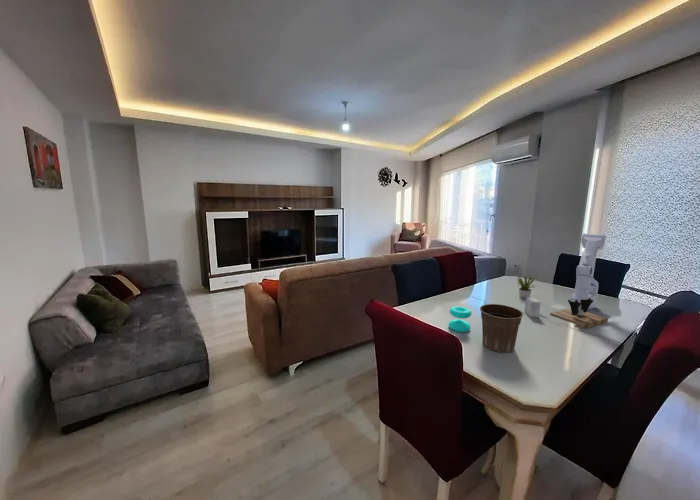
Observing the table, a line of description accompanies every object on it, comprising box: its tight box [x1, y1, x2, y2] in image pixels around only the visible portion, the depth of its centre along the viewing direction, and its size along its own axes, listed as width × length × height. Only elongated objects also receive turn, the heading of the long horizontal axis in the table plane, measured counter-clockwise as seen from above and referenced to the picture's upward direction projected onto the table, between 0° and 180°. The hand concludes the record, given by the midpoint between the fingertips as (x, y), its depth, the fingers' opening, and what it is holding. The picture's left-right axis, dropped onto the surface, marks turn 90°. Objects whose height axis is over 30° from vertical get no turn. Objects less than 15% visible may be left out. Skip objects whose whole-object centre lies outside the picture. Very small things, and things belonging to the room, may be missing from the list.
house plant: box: [516, 274, 541, 299], centre depth 183 cm, size 14×14×16 cm
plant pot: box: [479, 303, 524, 354], centre depth 122 cm, size 16×16×16 cm
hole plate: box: [549, 308, 609, 330], centre depth 151 cm, size 20×16×3 cm
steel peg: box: [574, 308, 584, 318], centre depth 151 cm, size 4×4×6 cm
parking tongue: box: [549, 304, 569, 311], centre depth 166 cm, size 8×6×2 cm
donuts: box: [448, 305, 472, 333], centre depth 140 cm, size 10×10×10 cm
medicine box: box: [524, 297, 541, 318], centre depth 158 cm, size 8×4×9 cm, turn 168°
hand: (578, 313), depth 151 cm, fingers open, 7 cm apart
